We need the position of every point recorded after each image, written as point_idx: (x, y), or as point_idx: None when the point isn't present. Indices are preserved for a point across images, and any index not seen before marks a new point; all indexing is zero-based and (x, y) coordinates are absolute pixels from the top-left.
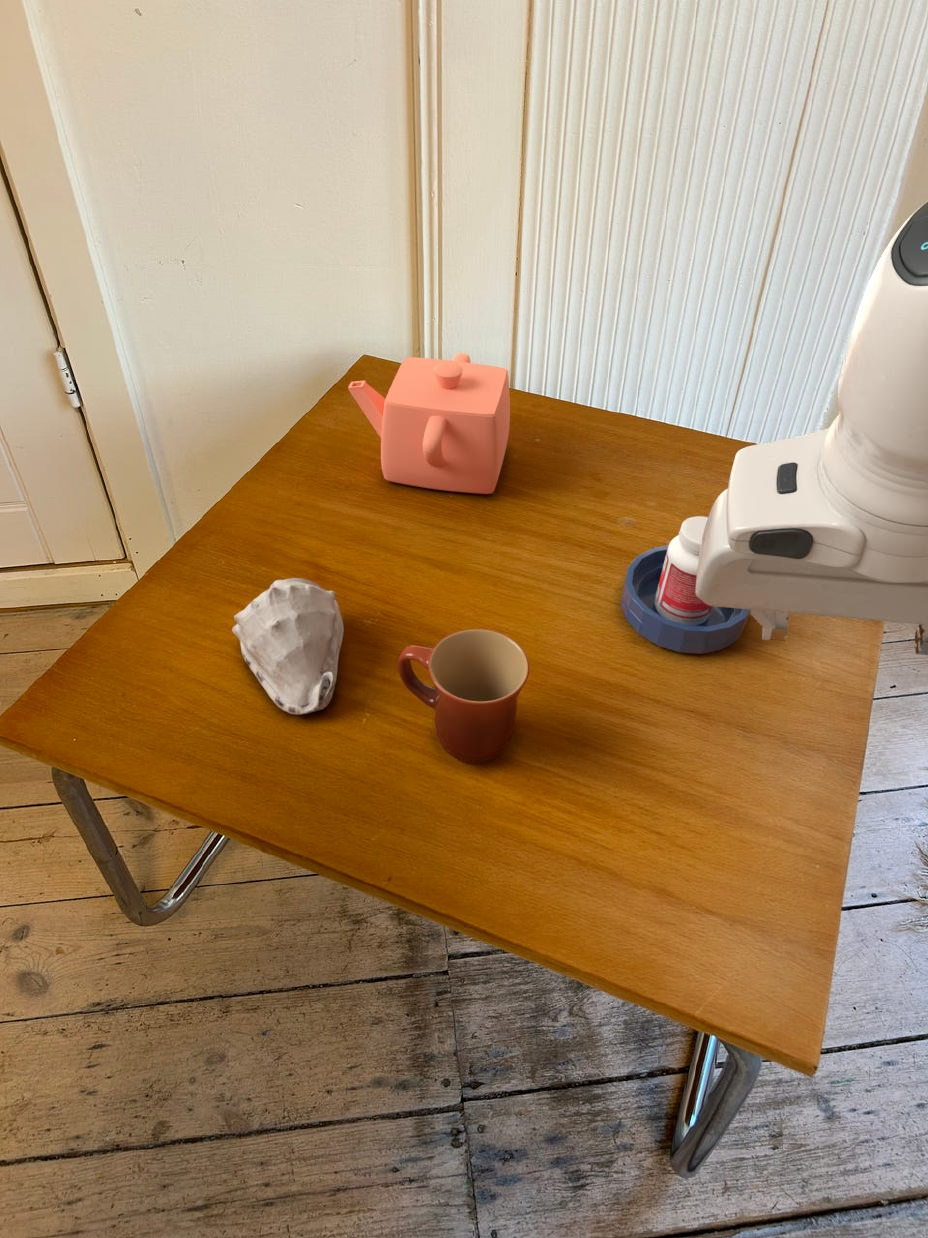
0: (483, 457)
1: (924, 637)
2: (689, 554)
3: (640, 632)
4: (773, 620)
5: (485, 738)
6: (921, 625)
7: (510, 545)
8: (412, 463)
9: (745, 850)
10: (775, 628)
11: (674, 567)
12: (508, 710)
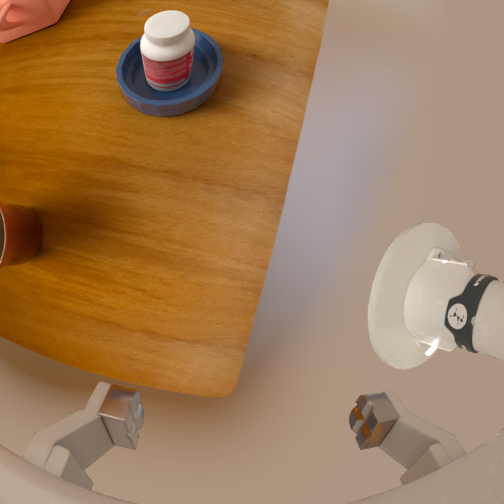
0: (40, 9)
1: (366, 443)
2: (153, 45)
3: (130, 105)
4: (104, 443)
5: (16, 263)
6: (373, 427)
7: (57, 55)
8: (7, 31)
9: (201, 291)
10: (114, 444)
11: (144, 56)
12: (14, 253)
